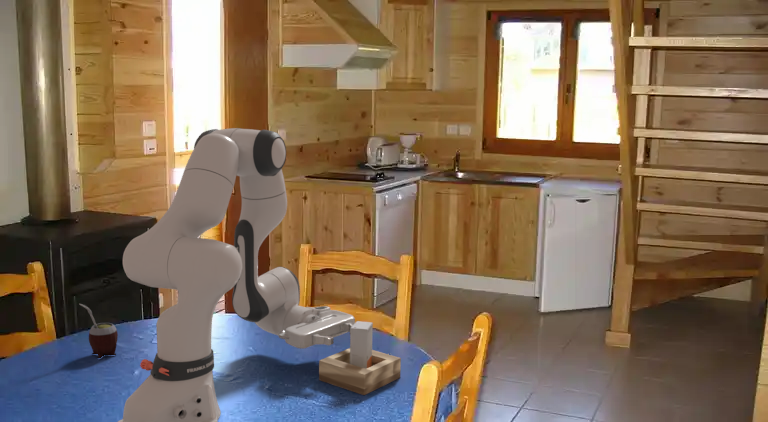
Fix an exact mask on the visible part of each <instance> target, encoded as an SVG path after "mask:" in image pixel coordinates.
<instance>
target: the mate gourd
mask: <svg viewBox="0 0 768 422" xmlns="http://www.w3.org/2000/svg"><path fill="white" fill-rule="evenodd" d="M78 304H79V305H80V306H81V307H82V308H85V310H87V313H88V314H89V316H90V318H91V320H92V322H93V325H92V326H91V327H90V328H89V329H90V330H89V333H88V342H89V345H90V347H91V349H92V352H91V355H92V354H98V357H97V358H101V357H102V356H104V355H116V356H117V353H116V350H117V343H118V336H119V334H118V330H117V328H116V325H114V324H113V323H110V322H100V323H96V320H95V318H94V316H93V312H92V310H91V309H90V307H88V306H87V305H85V304H82V303H78ZM104 357H105V356H104Z"/></svg>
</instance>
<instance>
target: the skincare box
mask: <svg viewBox="0 0 768 422" xmlns="http://www.w3.org/2000/svg"><path fill="white" fill-rule="evenodd" d="M373 325H374V323H373V322H370V321H359V320H356V321H355V324H354V325H353V326H352V327H351V330H350V332H349V335H350V339H349V340H350V341H349V343H350V344H349V348H350V364H352V365H355V366H358V367H362V368H365V369H367V368H369V367H371V366H372V350H373V328H374V327H373Z"/></svg>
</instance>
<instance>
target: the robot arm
mask: <svg viewBox="0 0 768 422" xmlns="http://www.w3.org/2000/svg"><path fill="white" fill-rule="evenodd" d="M187 160H188V161H187V163H186V165H185V166H184V167H185V168H184V170H183V173H182V175H181V179H180V182H179V184H178V187H177V190H176V192H175V195H174V198H173V200H172V202H171V204H170V206H169V207H168V209H167V210H166V212H165V213H164V214H163V216H161V217H160V219H159V220H158V221H157V222H156V223H154V225H153V226H152V227H151V228H150V229H148V230H147V231H145V232H143V233H142V234H140V235H138V236H136V237H134V238H133V239H131V240H130V242H129V243H128V244H127V245H126V247H125V249H124V251H123V255H122V267H123V270H124V273H125V274H126V277H127V278H128V279H130V280H131V282H132V281H133V282H135V283H138V284H140V285H143V286H144V285H145V286H146V287H149V288H150V287H151V288H159V289H167V290H168V289H169V290H176V291H177V293H178V297H177V298H178V299H177V302H176V304H174V305H172V306H170V307H168V308H166V309H165V310H164V311H162V312H161V313H160V315H158V318H157V321H156V323H155V324H156V327H155V328H156V349H157V351H156V352H157V353H156V354H155V357H154V359H153V361H151V360H149V359H147V358H146V359H145V358H144V359H142V360H141V362H140V364H139V366H140V368H141V369H142V370H145V371H150V373H149V374H150V375H148V377H147V378H145V380H144V381H143V382H142V383H141V384H140V385H139V386H138V387H137V388H136V389H135V391H133V392H132V393H131V395H130V396H128V398H127V399H126V400H125V403H124V407H123V413H122V419H120V420H118V421H117V422H218V420H219V418H220V417H221V413H222V411H221V408H220V405H219V402H218V399H217V394H216V390H215V389H216V388H215V382H214V375H213V372H214V371H213V369H214V368H215V356H214V354H215V353H214V350H213V348H212V332H213V331H212V328H213V327H212V326H213V316H214V312H215V310H216V306H217V305H218V302H219V301H221V299H222V297H223V296H224V295H225V294H226V293H227V292H229V291H230V290H232V289H233V290H232V295H231V296H232V297H231V301H232V308H233V310H234V312H235V314H236V315H237V317H239V318H240V319H242V320H244V321H247V322H249V323H255V325H256V326H257V327H258V328H260V329H261V330H263V331H265V332H267V333H268V334H273V335H275V336H278V339H281V340H284V342H285V343H286V344H288V345H290V346H292V347H294V348H297V349H300V350H301V349H307V348H310V347H312V346H316V345H325V346H331V345H333V344H334V340H335V339H334V338H337V337H339V336H342V335H344V334H346V333H350V330H351V327H352V326H353V325H354V324H355V323H356V320H355V319H356V318H355V317H354V315H353V314H350V313H347V312H344V311H340V310H337V309H331V307H330V306H326V305H325V306H315V307H311V306H306V307H305V306H302V305H300V298H301V297H300V295H301V294H300V293H301V291H300V290H301V289H300V288H301V287H300V281H299V279H298V277H297V276H296V274H294V272H293V271H292V270H290V269H289V268H286V267H284V266H277V267H274V268H273V269H270V270H268V271H267V272H264V273H262V274H261V275H259V270H258V269H259V259H258V258H259V257H258V256H259V250H260V247H261V246H262V244H263V242H264V241H265V240H266V238H267V237H268V236H269V235H270V233H272V231H273V230H275V229H276V228H277V227H278V226H279V225H280V224H281V222H282V221H283V220H284V218H285V216H286V214H287V209H288V195H287V188H286V184H285V183H286V182H285V176H284V174H283V167H284V166H285V163H286V160H287V147H286V143H285V140H284V139H283V138H282V136H281V135H280V134H279V133H278V132H275V131H272V130H268V129H261V130H259V129H252V128H251V129H250V128H239V127H236V128H235V127H232V128H222V129H218V128H214V129H212V128H211V129H208V130H206V131H203V132H202V133H201V134H199V136H198V137H197V138H196V140H195V142H194V146H193V150H192V152H191V155H190V156H189V159H187ZM237 177H239V187H240V196H241V208H240V209H241V210H240V215H239V218H238V222H237V224H236V225H235V228H234V242H233V245H232V244H229V243H226V242H224V241H220V240H217V239H213V238H200V236H201V235H202V234H204V233H205V232H207V231H209V230H211V229H213V228H215V227H217V226H218V225H219V224H221V223H222V222H223V220H224V218H225V217H226V215H227V214H226V213H227V210H228V207H229V203H230V200H231V197H232V195H233V194H232V193H233V190H234V187H235V183H236V179H237Z"/></svg>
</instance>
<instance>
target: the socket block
mask: <svg viewBox="0 0 768 422" xmlns="http://www.w3.org/2000/svg"><path fill="white" fill-rule="evenodd" d="M401 361H402V358H401V357H399V356H396V355H392V354H391V355H389V353H384V352H382V351H378V350H374V349H372V366H371V367H369V368H367V369H365V368H362V367H358V366H355V365H352V364H350V347H349V348H346V349H344V350H341V351H339V352H336V353H334V354H332V355H329V356H326V357H325V358H322V359H319V360H318V363H319V364H318V374H319V375H318V380H319V381H321V382H324V383H327V384H329V385H332V386H335V387H339V388H341V389H345V390H346V391H350V392H353V393H356V394H359V395H362V396H366V395H368V394H370V393H371V392H373V391H376V390H378V389H380V388H382V387H384V386H387V385H388V384H390V383H391V382H394V381H397V380H398V379H400V378H401V367H402V366H401Z"/></svg>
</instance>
